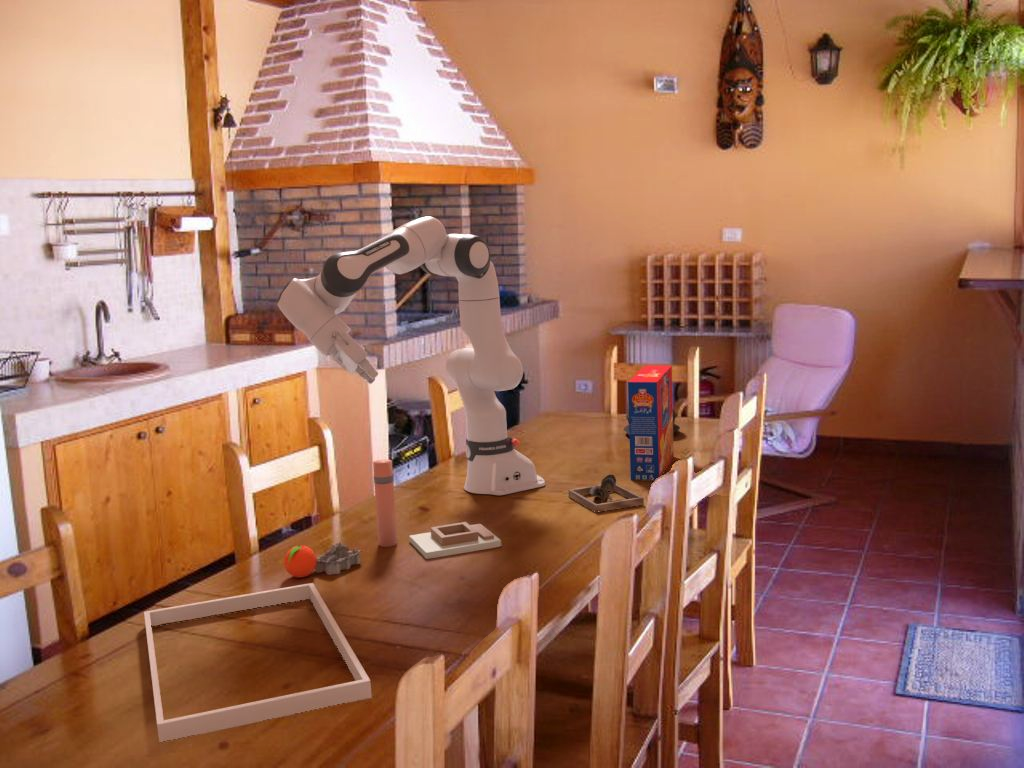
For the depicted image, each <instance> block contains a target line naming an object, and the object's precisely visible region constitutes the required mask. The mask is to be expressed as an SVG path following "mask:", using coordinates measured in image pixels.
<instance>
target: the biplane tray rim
mask: <svg viewBox="0 0 1024 768" xmlns="http://www.w3.org/2000/svg"><path fill="white" fill-rule="evenodd" d="M306 599H308V600H310V602H311V603H313V604H312V605H313V607H314V609H315V611H316V612H317V614H318V616H319V618H320V620H321V621H322V624H323V626H324V627H325V629H326V631H327V632H328V634H329V636H330V638H331V639H333V640H332V642H333V643H334V646H335V647H336V646H337V647H336V648H338V649H337V651H338V652H339V654H340V653H341V654H340V655H342V656H341V658H342V657H343V658H342V659H343V661H344V660H345V661H344V662H346V663H345V664H347V665H346V666H348V667H347V669H349V672H350V673H352V674H351V675H353V676H352V677H353V679H354V681H348V682H343V683H339V684H338V683H337V684H334V685H329V686H324V687H320V688H314V689H309V690H305V691H300V692H294V693H290V694H286V695H281V696H280V695H279V696H274V697H271V698H265V699H260V700H256V701H252V702H251V701H250V702H247V703H242V704H237V705H232V706H227V707H222V708H221V707H220V708H217V709H212V710H208V711H202V712H198V713H193V714H192V713H191V714H188V715H184V716H178V717H174V718H170V719H169V718H168V719H164V714H163V713H164V712H163V704H162V697H161V688H160V682H159V675H158V674H159V673H158V667H157V659H156V650H155V642H154V636H153V629H152V628H153V627H151V625H156V624H162V623H167V622H175V621H180V620H186V619H192V618H198V617H204V616H210V615H215V614H221V613H227V612H233V611H238V610H245V611H247V610H246V609H251V610H253V609H252V608H257V607H262V608H264V607H263V606H268V607H270V606H269V605H274V606H277V605H276V604H279V605H282V604H281V603H285V604H288V603H287V602H291V603H295V601H296V602H301V601H300V600H302V601H307V600H306ZM257 609H258V608H257ZM143 614H144V623H145V633H146V641H147V642H146V643H147V650H148V658H149V659H148V660H149V667H150V676H151V682H152V683H151V684H152V693H153V702H154V709H155V719H156V727H157V736H158V742H162V743H164V742H163V741H166V742H168V741H167V740H171V741H174V740H173V739H176V740H179V739H178V738H181V739H183V738H182V737H185V738H188V737H187V736H190V737H192V736H191V735H195V736H199V735H204V734H207V733H212V732H213V733H214V732H218V731H221V730H222V731H223V730H226V729H231V728H236V727H241V726H245V725H251V724H254V723H260V722H264V721H263V720H265V721H268V720H267V719H270V720H273V719H272V718H274V719H279V718H282V717H283V716H284V717H288V716H293V715H296V714H295V713H298V714H301V712H303V713H306V712H305V711H307V712H311V711H310V710H312V711H315V710H314V709H317V710H320V709H319V708H321V709H325V708H324V707H326V708H329V707H328V706H331V707H334V706H333V705H335V706H338V705H337V704H340V705H343V704H342V703H345V704H349V703H353V702H357V701H358V700H359V701H362V700H367V699H372V697H373V696H372V685H371V679H370V677H369V676H368V674H367V672H366V671H365V669H364V667H363V666H362V664H361V662H360V660H359V659H358V657H357V655H356V653H355V652H354V650H353V648H352V647H351V645H350V643H349V641H348V640H347V638H346V637H345V635H344V634H343V632H342V630H341V628H340V626H339V625H338V623H337V622H336V620H335V618H334V616H333V615H332V613H331V611H330V609H329V608H328V606H327V605H326V602H324V599H323V598H322V596H321V594H320V593H319V591H318V589H317V588H316V586H315V584H314V583H313V582H310V583H304V584H298V585H292V586H286V587H281V588H275V589H269V590H263V591H258V592H251V593H246V594H245V593H244V594H239V595H234V596H228V597H221V598H215V599H210V600H205V601H204V600H203V601H199V602H191V603H188V604H182V605H175V606H170V607H163V608H157V609H153V610H147V611H143ZM348 702H349V703H348ZM278 717H279V718H278ZM284 717H283V718H284ZM198 734H199V735H198Z"/></svg>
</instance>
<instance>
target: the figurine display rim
mask: <svg viewBox="0 0 1024 768" xmlns="http://www.w3.org/2000/svg"><path fill="white" fill-rule="evenodd" d="M594 486H595V485H592V486H590V485H589V486H584V487H578V488H577V487H576V488H573V489H568V492H567V493H568V498H569V497H570V498H569V499H571V498H572V499H571V500H573V499H574V500H575V501H574V500H573V501H574V502H576V501H577V502H576V503H578V502H579V503H580V505H581V504H582V506H583V505H584V506H583V507H585V506H586V507H587V508H586V507H585V508H586V509H588V508H589V509H588V510H590V509H591V510H593V511H595V512H598V511H605V510H612V511H614V510H613V509H618V508H624V509H627V508H626V507H630V508H633V507H632V506H636V507H640V506H639V505H642V506H644V503H645V502H644V500H645V499H644V497H642V495H638V494H637V493H635V492H633V491H631V490H629V489H627V488H626V487H623V486H621V484H617V483H616V485H615V486H613V487H612V488H611V489H609V490H608V491H612V490H613V489H615V490H614V491H615V492H614V493H616V492H617V493H616V494H618V493H619V494H618V495H620V494H621V495H620V496H622V495H623V496H625V497H627V498H628V499H627V498H625V497H624V498H625V499H621V500H616V501H614V500H613V501H608V502H603V503H601V502H600V503H597V502H594V501H593V500H590V499H588V498H587V497H585V496H589V495H588V494H590V489H591V488H593V487H594ZM597 486H598V487H599V488H600V487H601V484H598V485H597ZM582 495H585V496H582ZM623 496H622V497H623ZM579 503H578V504H579ZM591 510H590V511H591ZM618 510H619V509H618ZM593 511H592V512H593ZM595 512H594V513H595ZM605 512H606V511H605Z"/></svg>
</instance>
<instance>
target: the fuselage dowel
mask: <svg viewBox="0 0 1024 768" xmlns="http://www.w3.org/2000/svg"><path fill="white" fill-rule="evenodd" d="M372 467H373V468H372V469H373V484H374V497H375V510H376V524H377V525H376V526H377V537H378V538H377V539H378V546H379V547H382V548H390V547H394V546H397V545H398V531H397V517H396V503H395V501H396V500H395V487H394V486H395V485H394V473H393V460H391V459H387V458H386V459H383V458H382V459H377V460H374V461H373V462H372Z"/></svg>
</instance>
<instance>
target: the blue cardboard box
mask: <svg viewBox="0 0 1024 768" xmlns="http://www.w3.org/2000/svg"><path fill="white" fill-rule="evenodd" d="M627 392H628V393H627V394H628V395H627V396H628V410H629V423H628V425H629V435H628V436H629V461H630V463H629V467H630V468H629V469H630V471H629V472H630V481H635V480H649V481H648V482H655V481H654V480H655V479H656V478H658V477H660V476H661V475H662V474H663V475H664V474H665V472H666V471H667V469H668V467H669V466H668V465H670V464H671V462H672V460H673V459H674V457H675V455H674V450H675V449H674V432H673V409H674V407H673V367H672V365H643V367H641V368H640V370H639V371H638V372H637V373H635V374H634V375H633V376H632V378H631V379H629V380H628V382H627ZM666 468H667V469H666ZM665 470H666V471H665ZM664 471H665V472H664ZM663 472H664V473H663ZM653 478H654V479H653ZM652 479H653V480H652ZM651 480H652V481H651Z"/></svg>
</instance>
